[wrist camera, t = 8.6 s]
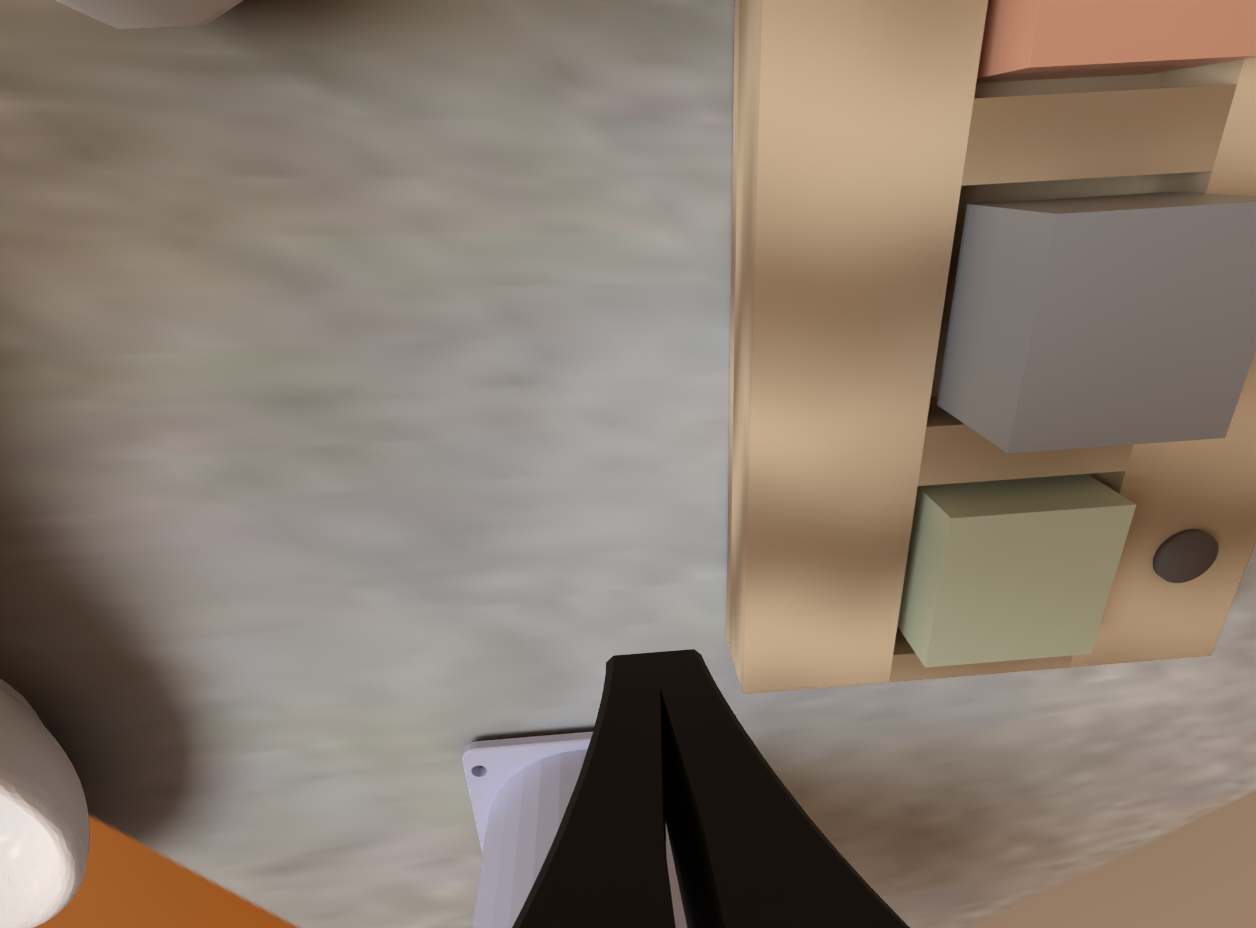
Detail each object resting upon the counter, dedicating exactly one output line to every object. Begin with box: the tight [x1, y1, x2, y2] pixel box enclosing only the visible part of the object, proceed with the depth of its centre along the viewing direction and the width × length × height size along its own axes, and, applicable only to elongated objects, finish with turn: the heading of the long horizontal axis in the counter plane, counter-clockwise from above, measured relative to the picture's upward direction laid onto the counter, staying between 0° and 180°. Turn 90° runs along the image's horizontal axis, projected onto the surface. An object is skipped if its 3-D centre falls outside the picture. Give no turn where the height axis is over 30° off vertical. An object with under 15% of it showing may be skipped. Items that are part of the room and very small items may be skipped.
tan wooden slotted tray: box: [726, 0, 1256, 694], centre depth 16 cm, size 21×14×3 cm, turn 3°
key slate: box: [937, 192, 1256, 454], centre depth 14 cm, size 5×5×3 cm
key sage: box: [897, 474, 1136, 668], centre depth 18 cm, size 5×5×3 cm
